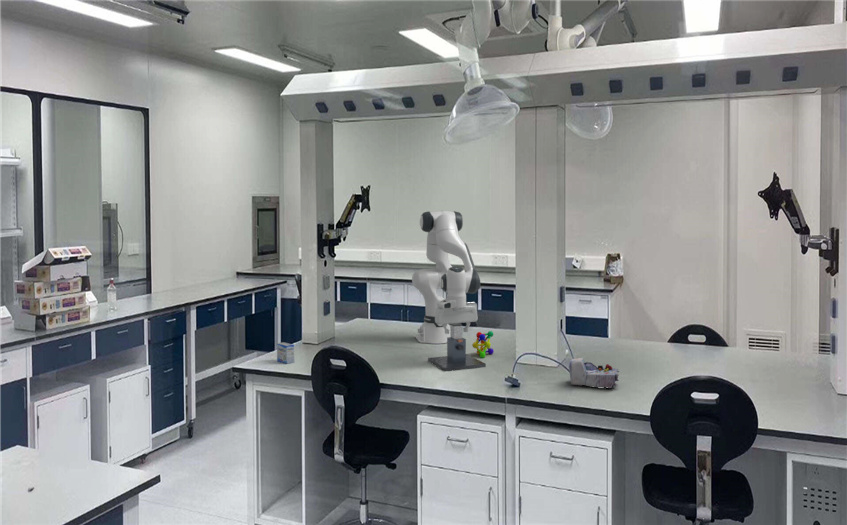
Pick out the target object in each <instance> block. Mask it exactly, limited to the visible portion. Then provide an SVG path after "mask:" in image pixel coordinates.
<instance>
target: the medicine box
mask: <svg viewBox="0 0 847 525" xmlns="http://www.w3.org/2000/svg"><path fill="white" fill-rule="evenodd" d="M276 358H277V359H276V360H277V362H278V363H281V364H285V365H290V364H293V363H295V344H292V343H288V342H286V341H285V342H283V341H282V342H279V343H276Z"/></svg>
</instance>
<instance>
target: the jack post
mask: <svg viewBox="0 0 847 525" xmlns="http://www.w3.org/2000/svg"><path fill="white" fill-rule="evenodd" d="M450 337H451V339H453V340H457V339H462V338H463V323H453V324H450Z"/></svg>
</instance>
